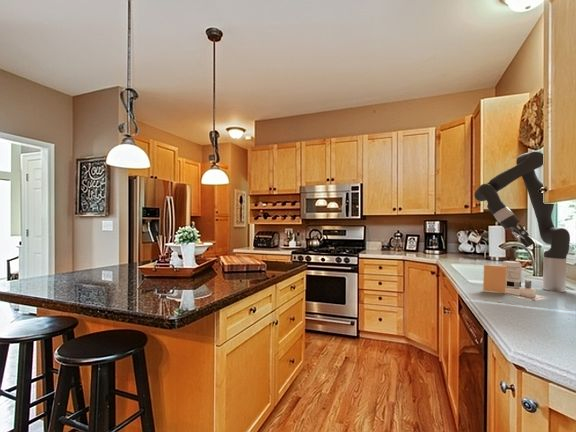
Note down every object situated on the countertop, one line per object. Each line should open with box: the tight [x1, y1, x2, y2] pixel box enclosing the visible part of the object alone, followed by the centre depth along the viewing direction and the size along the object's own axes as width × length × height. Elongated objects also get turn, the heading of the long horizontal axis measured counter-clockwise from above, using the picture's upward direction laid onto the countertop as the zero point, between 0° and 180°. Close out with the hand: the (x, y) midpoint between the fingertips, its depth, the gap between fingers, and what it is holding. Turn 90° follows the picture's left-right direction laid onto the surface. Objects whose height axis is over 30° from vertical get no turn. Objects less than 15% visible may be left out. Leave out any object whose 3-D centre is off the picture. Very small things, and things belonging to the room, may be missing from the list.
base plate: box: [504, 280, 552, 302], centre depth 148 cm, size 16×13×8 cm
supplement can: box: [501, 260, 523, 290], centre depth 161 cm, size 8×8×15 cm
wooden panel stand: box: [482, 264, 537, 297], centre depth 151 cm, size 21×6×13 cm, turn 68°
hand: (530, 245), depth 151 cm, fingers open, 8 cm apart
